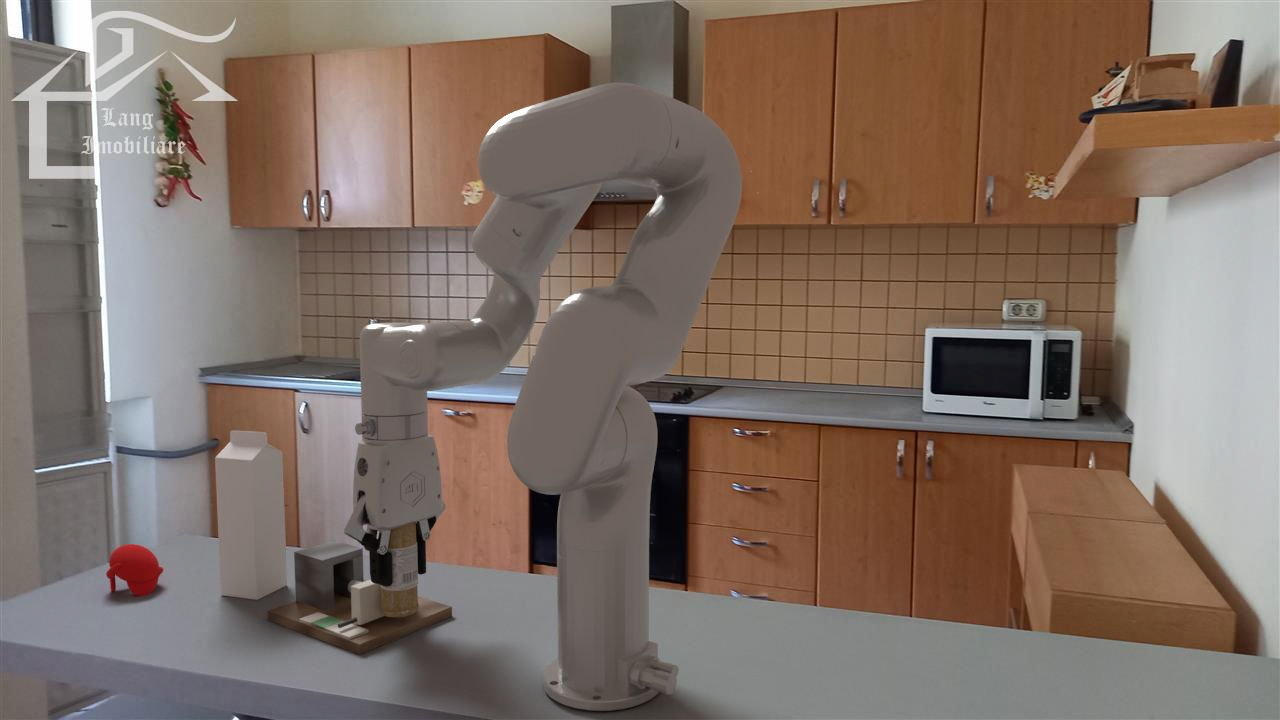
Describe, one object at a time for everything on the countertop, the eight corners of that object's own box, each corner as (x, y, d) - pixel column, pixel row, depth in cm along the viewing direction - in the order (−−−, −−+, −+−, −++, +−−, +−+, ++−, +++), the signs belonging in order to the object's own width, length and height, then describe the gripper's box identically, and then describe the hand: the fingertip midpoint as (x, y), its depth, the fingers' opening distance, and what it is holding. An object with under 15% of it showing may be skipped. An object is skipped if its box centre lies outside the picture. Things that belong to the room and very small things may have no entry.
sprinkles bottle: (409, 602, 108) (406, 495, 106) (425, 612, 104) (423, 502, 103) (373, 610, 105) (370, 501, 104) (389, 622, 101) (386, 509, 100)
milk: (252, 581, 122) (246, 426, 121) (288, 585, 121) (282, 428, 119) (219, 596, 117) (213, 433, 115) (257, 600, 115) (251, 435, 113)
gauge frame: (452, 615, 110) (450, 557, 109) (359, 654, 98) (357, 589, 97) (360, 587, 120) (359, 533, 119) (267, 619, 108) (265, 560, 108)
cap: (91, 566, 119) (98, 553, 115) (134, 542, 123) (142, 528, 119) (126, 613, 119) (133, 601, 115) (167, 587, 123) (176, 575, 119)
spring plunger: (413, 604, 109) (412, 570, 109) (343, 631, 101) (342, 594, 100) (379, 593, 113) (378, 560, 112) (308, 619, 104) (307, 583, 104)
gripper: (355, 441, 94) (360, 606, 95) (469, 420, 107) (472, 565, 109) (313, 434, 98) (318, 592, 99) (428, 415, 112) (431, 554, 113)
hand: (398, 576), depth 104 cm, fingers closed on sprinkles bottle, 4 cm apart
